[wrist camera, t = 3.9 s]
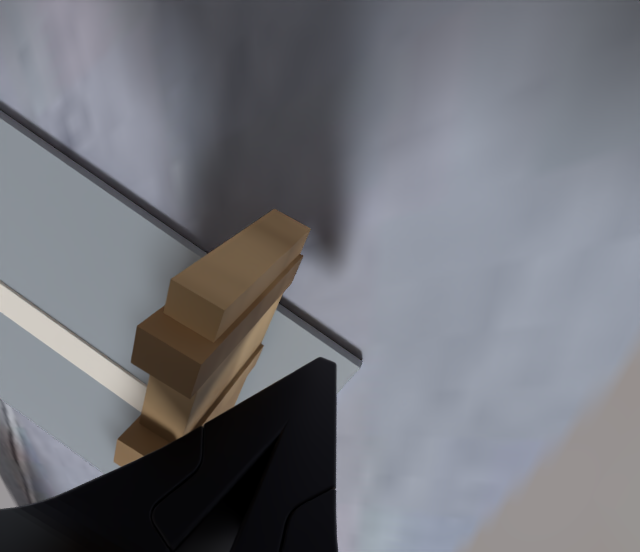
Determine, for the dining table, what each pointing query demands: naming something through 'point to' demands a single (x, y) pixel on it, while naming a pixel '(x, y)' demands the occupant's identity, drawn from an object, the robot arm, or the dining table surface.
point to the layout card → (97, 300)
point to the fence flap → (210, 332)
